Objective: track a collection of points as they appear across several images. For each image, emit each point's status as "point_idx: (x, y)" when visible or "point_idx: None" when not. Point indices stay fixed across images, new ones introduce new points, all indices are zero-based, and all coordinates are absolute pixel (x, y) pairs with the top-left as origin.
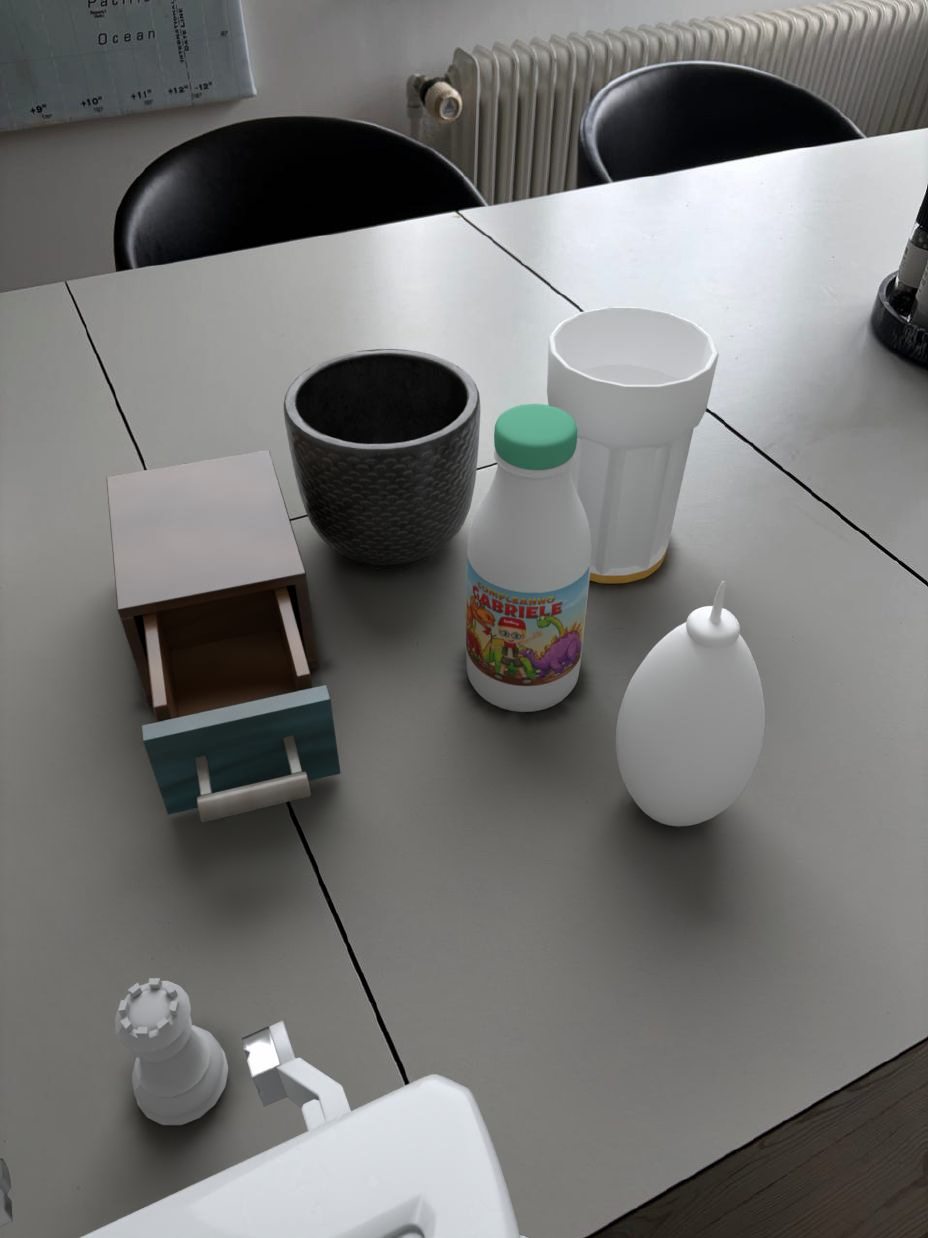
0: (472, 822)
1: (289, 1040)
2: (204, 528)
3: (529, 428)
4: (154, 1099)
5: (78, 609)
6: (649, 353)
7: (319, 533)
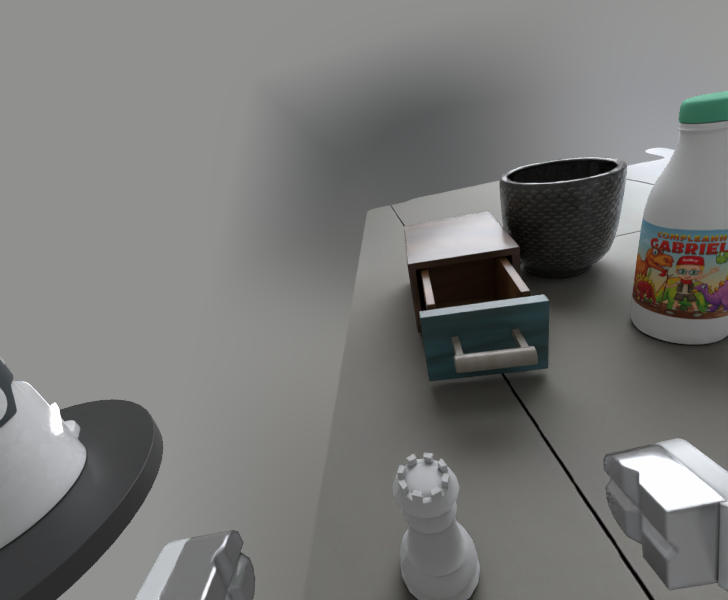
0: (668, 410)
1: (717, 465)
2: (455, 236)
3: (717, 95)
4: (418, 574)
5: (384, 295)
6: None
7: None
